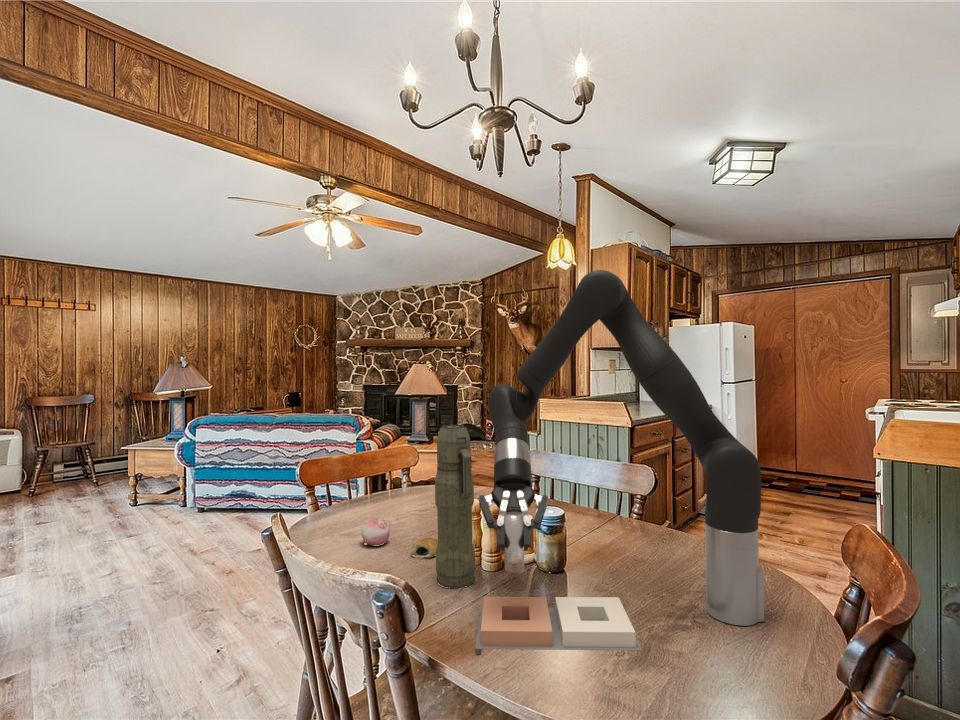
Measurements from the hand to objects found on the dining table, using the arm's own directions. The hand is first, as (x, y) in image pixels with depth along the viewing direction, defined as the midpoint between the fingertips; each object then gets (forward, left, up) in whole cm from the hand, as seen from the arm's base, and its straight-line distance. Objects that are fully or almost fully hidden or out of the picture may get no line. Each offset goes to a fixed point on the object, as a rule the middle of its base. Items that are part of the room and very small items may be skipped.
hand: (514, 548), depth 89 cm
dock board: (-7, -2, -16) cm, 18 cm away
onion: (+37, -45, -16) cm, 60 cm away
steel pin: (0, -2, -5) cm, 5 cm away
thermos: (+13, -23, -16) cm, 31 cm away
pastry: (+22, -39, -17) cm, 48 cm away
